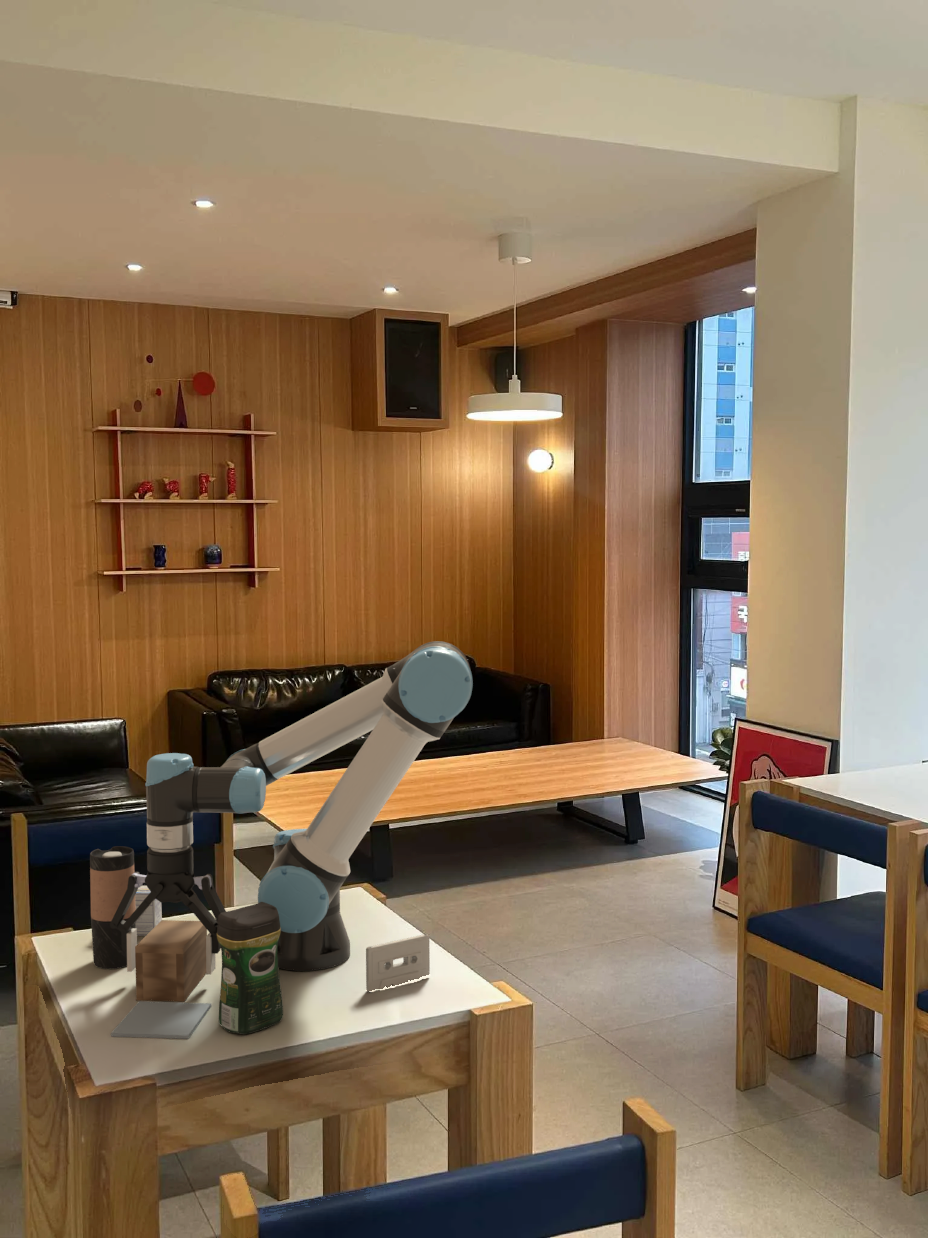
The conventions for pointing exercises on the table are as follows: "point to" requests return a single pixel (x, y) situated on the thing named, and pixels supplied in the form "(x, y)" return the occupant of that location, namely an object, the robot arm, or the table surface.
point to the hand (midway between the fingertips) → (171, 970)
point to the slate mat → (162, 1020)
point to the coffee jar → (249, 968)
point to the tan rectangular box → (170, 961)
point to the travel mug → (109, 903)
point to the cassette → (410, 969)
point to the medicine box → (147, 912)
